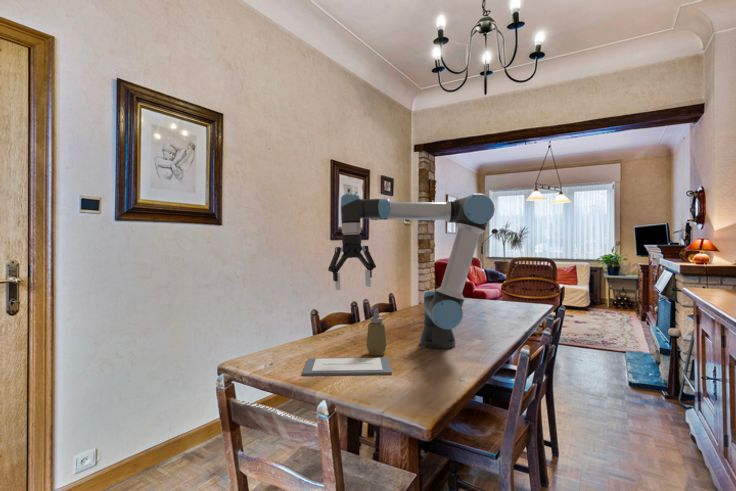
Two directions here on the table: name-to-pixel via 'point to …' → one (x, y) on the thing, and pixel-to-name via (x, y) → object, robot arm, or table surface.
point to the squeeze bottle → (376, 335)
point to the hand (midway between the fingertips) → (353, 288)
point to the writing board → (347, 366)
